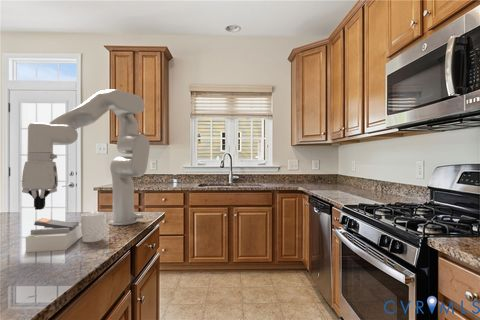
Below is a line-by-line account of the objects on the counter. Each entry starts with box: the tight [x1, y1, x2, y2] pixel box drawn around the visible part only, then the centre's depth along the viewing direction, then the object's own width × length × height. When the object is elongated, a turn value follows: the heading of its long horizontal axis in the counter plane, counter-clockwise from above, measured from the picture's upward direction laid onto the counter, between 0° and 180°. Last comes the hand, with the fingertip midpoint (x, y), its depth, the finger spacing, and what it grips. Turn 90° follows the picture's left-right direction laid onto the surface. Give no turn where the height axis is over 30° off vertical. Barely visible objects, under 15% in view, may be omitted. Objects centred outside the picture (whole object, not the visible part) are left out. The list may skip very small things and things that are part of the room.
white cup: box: [80, 211, 105, 243], centre depth 112 cm, size 8×8×10 cm
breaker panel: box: [25, 221, 82, 253], centre depth 107 cm, size 12×18×6 cm, turn 13°
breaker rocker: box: [33, 217, 77, 230], centre depth 107 cm, size 12×6×1 cm, turn 103°
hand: (39, 209), depth 106 cm, fingers closed
